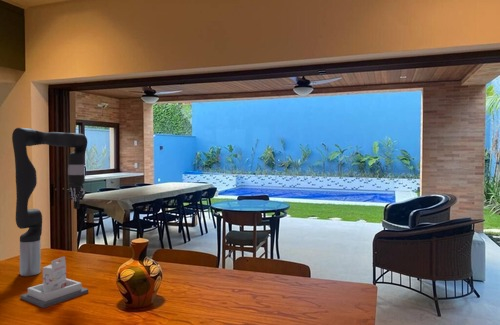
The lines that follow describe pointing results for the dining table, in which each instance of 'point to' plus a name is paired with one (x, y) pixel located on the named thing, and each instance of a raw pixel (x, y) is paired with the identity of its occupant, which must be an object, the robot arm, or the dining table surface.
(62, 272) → the ink cartridge box
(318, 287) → the dining table surface
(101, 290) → the dining table surface
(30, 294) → the cartridge holder
